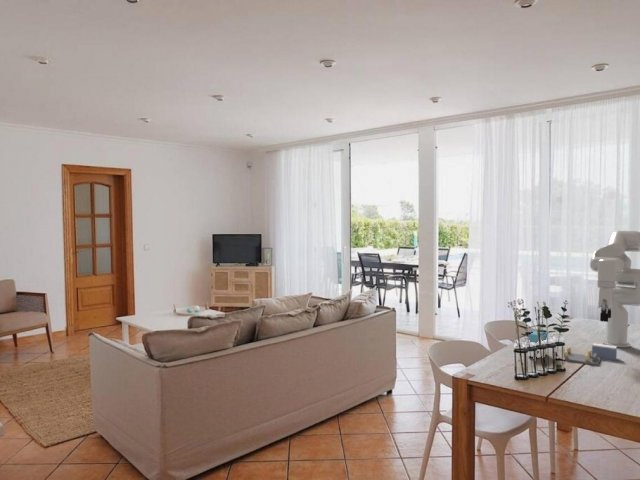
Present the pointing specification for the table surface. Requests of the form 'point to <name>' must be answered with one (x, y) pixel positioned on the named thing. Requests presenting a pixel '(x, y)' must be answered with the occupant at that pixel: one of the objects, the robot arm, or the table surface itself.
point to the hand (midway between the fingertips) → (605, 319)
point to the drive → (605, 351)
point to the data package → (534, 337)
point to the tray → (582, 357)
